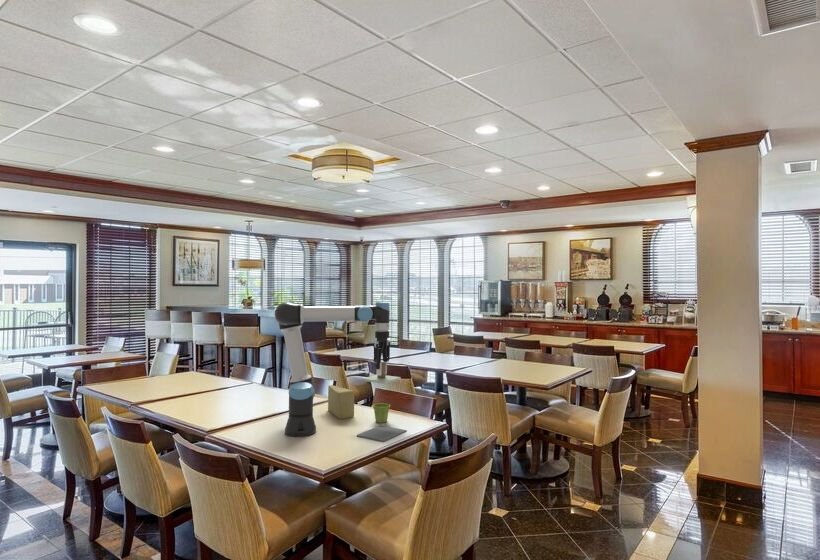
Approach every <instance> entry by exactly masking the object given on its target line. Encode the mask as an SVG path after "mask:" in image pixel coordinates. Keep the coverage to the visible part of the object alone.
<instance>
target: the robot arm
mask: <svg viewBox="0 0 820 560" xmlns="http://www.w3.org/2000/svg"><path fill="white" fill-rule="evenodd" d="M390 311H391V310H390V302H388V301H376V302H375V304H374V305H360V304H359V305H358V304H357V305H354V306H353V305H350V306H349V305H347V306H346V305H345V306H343V305H342V306H341V305H339V306H338V305H336V306H335V305H334V306H330V305H329V306H328V305H326V306H324V305H323V306H321V305H319V306H318V305H317V306H311V305H310V306H307V305H306V306H304V305H303V304H301V303H300V304H297V303H295V302H294V301H285V302H282V303H280V304H279V305H277V306H276V308H275V311H274V318H275V320H276V322H278V326H279V331H281V332H282V334H283V336H284V343H285V348H286V353H287V358H288V364H289V370H290V374H291V375H290V376H291V379H289V388H288V418H287V422H286V425H285V428H284V434H285V435H286V436H287V437H295V438H296V437H298V438H299V437H307V436H308V437H309V436H312V435H314V434H316V432H317V426H316V424H315V419H314V414H313V413H314V410H313V409H314V398H315V395H316V387H315V384H314V381H313V377H312V375H311V374H310V373H309V371H308V366H307V359H306V358H307V357H306V354H305V349H304V348H305V347H304V344H303V339H302V338H303V337H302V332H301V329H302V327H303V323H304V322H306V323H307V322H309V323H310V322H313V323H314V322H316V323H317V322H364V323H365V322H369V321H370V320H374V321H375V324H374V330H375V331H374V337H375V339H376V342H374V343H373V344H372V346H373V362H374V364H375V363H376V364H375V365H376V367H375V368H376V374H375V375H380V376H381V371H382V363H381V362H385V363H386V375H387V372H388V362H389V361H390V358H391V357H390V356H391V355H390V354H391V352H390V351H391V341H388V339H389V338H390V331H389V330H390V314H391V313H390Z"/></svg>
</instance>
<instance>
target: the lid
mask: <svg viewBox="0 0 820 560" xmlns="http://www.w3.org/2000/svg"><path fill="white" fill-rule="evenodd" d="M381 363H382V371H381V376H380V375H376V374H374V375H370V376H366V377H362V378H361V381H362V382H369V383H374V384H375V383H377V384H389V383H393V382H396V381H400V380H402V377H401V376H395V375H393V376H392V375H387V374H386V363H385V362H384V361H381Z"/></svg>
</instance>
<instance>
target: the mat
mask: <svg viewBox="0 0 820 560" xmlns="http://www.w3.org/2000/svg"><path fill="white" fill-rule="evenodd" d="M407 431H408V430H406V429H402V428H398V427H391V426H386V425H382V424H380V425H377V426H375V427H372V428H370V429H368V430H366V431H363V432H360V433H358V434H356V437H359V438H363V439H368V440H373V441H378V442H383V443H385V442H387V441H390V440H391V439H393V438H396V437H397V436H400V435H402V434H405V433H406V432H407Z"/></svg>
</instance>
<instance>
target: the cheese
mask: <svg viewBox="0 0 820 560" xmlns="http://www.w3.org/2000/svg"><path fill="white" fill-rule="evenodd" d="M327 389H328V390H327V410H328V412H330V413H331V414H333V415H334V416H336V418H338V419H339V420H343V419H349V418H354V417H355V391H354V390H352V389H348V388H345V387H344V388H343V387H340V386H336V385H333V384H332V385H331V384H329V385H328V387H327Z"/></svg>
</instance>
